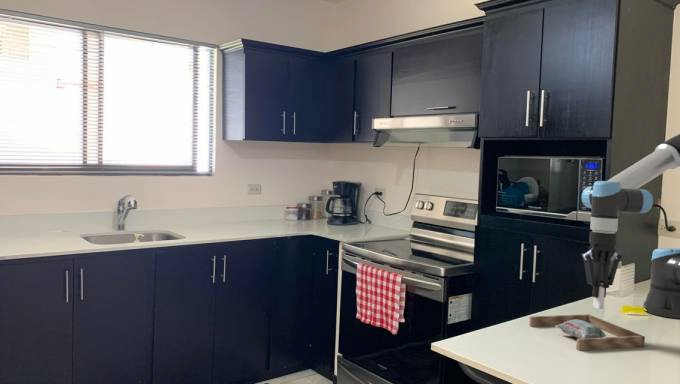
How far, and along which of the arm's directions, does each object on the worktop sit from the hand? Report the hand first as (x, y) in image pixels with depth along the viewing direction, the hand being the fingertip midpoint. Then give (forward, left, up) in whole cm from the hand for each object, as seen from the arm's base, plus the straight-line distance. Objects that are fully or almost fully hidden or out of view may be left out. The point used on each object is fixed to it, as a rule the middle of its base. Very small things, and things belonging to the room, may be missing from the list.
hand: (598, 307), depth 169 cm
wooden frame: (+5, 0, -9) cm, 10 cm away
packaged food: (+10, -1, -10) cm, 14 cm away
